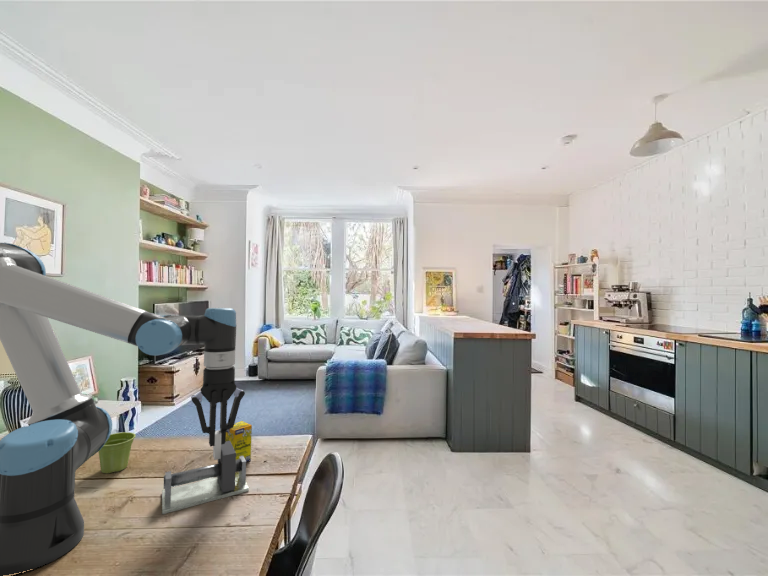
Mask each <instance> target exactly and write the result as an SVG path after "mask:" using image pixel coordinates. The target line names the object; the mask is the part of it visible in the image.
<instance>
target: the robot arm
mask: <svg viewBox="0 0 768 576" xmlns="http://www.w3.org/2000/svg"><path fill="white" fill-rule="evenodd" d="M46 274H47V273H46V267H45V264H44V262H43V261H42V259H41V258H40V257H39V256H38V255H37V253H34V252H33V251H31V250H29V249H26V248H24V247H22V246H19V245H16V244H13V243H7V242H0V343H1V344H2V347H3V349H4V351H5V353H6V355H7V358H8V360H9V362H10V364H11V366H12V369H13V371H14V373H15V375H16V377H17V379H18V382H19V384H20V386H21V388H22V391H23V393H24V395H25V398H26V399H27V401H28V404H29V406H30V408H31V410H32V414H31V416H30V418H29V419H28V421H27V426H22V427H19V428H17V429H14V430H13V431H11V432H9V433H8V434H6V435H4V436H2V438H1V439H0V576H3V575H9V574H14V573H19V572H23V571H27V570H30V569H34V568H37V567H39V568H41V567H43V565H44V566H46V565H48V564H50V563H52V562H54V561H55V560H57V559H59V558H61V557H63V556H64V555H66V554H67V553H68V552H70V551H71V550H72V549H74V548H75V547H76V546H77V545H78V544H79V543H80V541H81V540H82V539H83V537H84V534H85V520H84V517H83V515H82V513H81V510H80V508H79V505H78V503H77V500H76V499H75V492H76V491H75V490H76V489H75V488H76V471H77V470H78V469H79V468H80V467H81V466H82V465H84V464H85V463H86V462H87V461H88V460H89V459H90V458H92V457H93V456H95V455H96V454H97V453H99V450H100V449H101V448H102V447H103V446H104V444H105V443H106V441H107V440H108V438H109V437H110V434H112V430H113V421H112V418H111V414H109V412H108V411H107V410H106V409H104V408H103V407H99V406H97V405H96V403H95V401H94V398H93V396H91V395H88V394H84V393H82V392H81V391H80V388H79V386H78V384H77V381H76V378H75V376H74V374H73V372H72V370H71V368H70V365H69V363H68V360H67V358H66V357H65V356H66V355H65V354H64V352H63V351H64V350H63V349H62V347H61V345H60V343H59V341H58V338H57V336H56V333H55V332H54V329H53V327H52V325H51V323H50V320H49V319H51V320H55V321H58V322H60V323H64V324H66V325H71V326H74V327H76V328H79V329H82V330H86V331H89V332H93V333H95V334H99V335H101V336H105V337H109V338H111V339H113V340H117V341H121V342H124V343H127V344H130V345H133V346H135V347H137V348H138V349H139V350H140V351H141V352H142V353H143V354H146V355H149V356H163V355H166V354H170V353H171V352H173V351H174V350H176V349H177V348H178V347H181V346H188V345H189V346H190V345H191V346H193V345H198V346H199V345H204V348H203V366H204V369H203V372H202V373H203V375H202V376H203V377H202V381H203V382H202V386H201V388H200V391H199V392H198V393H196V394H192V395H191V396H190V398H191V402H192V403H193V404H194V406H195V407H196V411H197V417H198V420H199V423H200V428H201V431H202V433H203V434H208V445H209V446H210V447H212V448H213V449H212V451H213V452H212V456H213V459H214V461H216V460H217V461H218V459H221V444H225V442H226V432H227V430H228V429H232V428H233V427H234V423H236V419H237V415H238V412H239V409H240V405H241V401H242V399H243V397H244V396H245V395H246V392H245V390H243V389H242V388H241V389H240V388H238V387H237V384H236V381H235V380H236V379H235V377H236V368H235V366H234V365H235V364H236V342H237V341H236V340H237V312H236V310H235V309H234V308H232V307H208V308H206V309H205V310H204V311H205V312H204V313H203V315H171V314H167V315H165V314H164V315H159V314H156V313H153V312H149V311H147V310H145V309H143V308H140V307H139V308H138V307H136V306H132V305H131V304H127V303H124V302H122V301H118V300H116V299H113V298H110V297H107V296H104V295H103V294H102V295H101V294H99V293H96V292H93V291H90V290H87V289H84V288H81V287H78V286H76V285H72V284H70V283H67V282H64V281H61V280H58V279H56V278H53V277H49V276H48V275H46ZM233 394H234V398H233V402H232V406H231V409H230V413H229V416H228V415H227V413H228V401H229V400H230V399H231V397H232V395H233ZM202 397H204V398H205V400H206V401H207V402H208V403H209V423H208V424H209V425H208V426H207V422H206V418H205V414H204V410H203V405H202V403H201V402H202V401H203V398H202ZM218 403H220V406H219V407H220V410H219V411H220V414H219V430H216V425H217V424H216V423H217V420H216V419H217V404H218ZM227 416H228V420H227ZM45 564H46V565H45ZM40 566H41V567H40ZM37 569H38V568H37ZM34 570H35V569H34Z"/></svg>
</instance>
